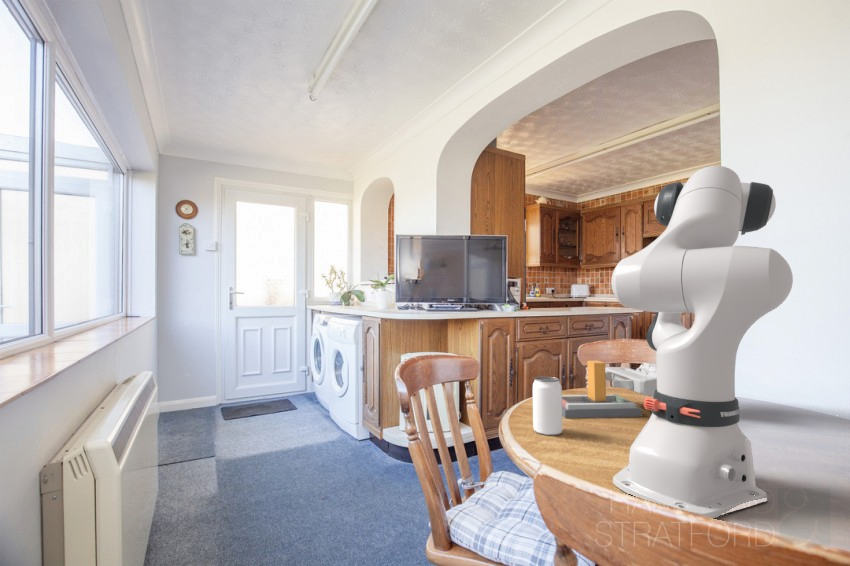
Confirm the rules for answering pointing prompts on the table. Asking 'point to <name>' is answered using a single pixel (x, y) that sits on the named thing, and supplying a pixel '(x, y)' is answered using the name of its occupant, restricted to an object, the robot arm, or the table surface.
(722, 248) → the robot arm
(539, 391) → the can
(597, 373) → the handle
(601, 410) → the grey tray
